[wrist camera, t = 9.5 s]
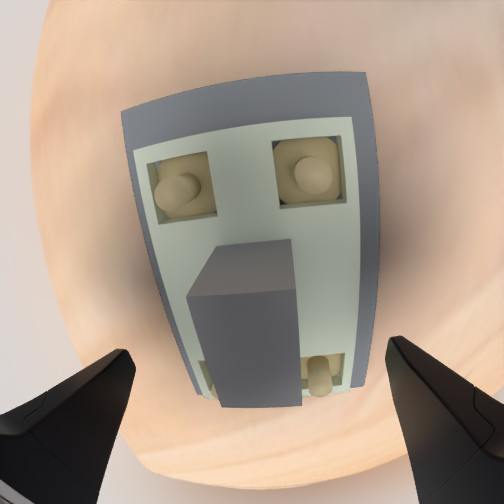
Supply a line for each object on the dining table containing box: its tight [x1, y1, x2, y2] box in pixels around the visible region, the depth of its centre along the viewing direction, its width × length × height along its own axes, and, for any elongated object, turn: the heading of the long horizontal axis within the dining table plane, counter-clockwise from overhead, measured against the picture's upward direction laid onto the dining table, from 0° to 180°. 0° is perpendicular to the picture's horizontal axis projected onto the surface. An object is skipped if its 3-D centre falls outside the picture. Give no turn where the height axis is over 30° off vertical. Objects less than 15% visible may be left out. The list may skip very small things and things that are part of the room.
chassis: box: [121, 72, 380, 399], centre depth 13 cm, size 12×19×4 cm, turn 8°
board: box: [133, 117, 360, 408], centre depth 10 cm, size 9×14×5 cm, turn 8°
